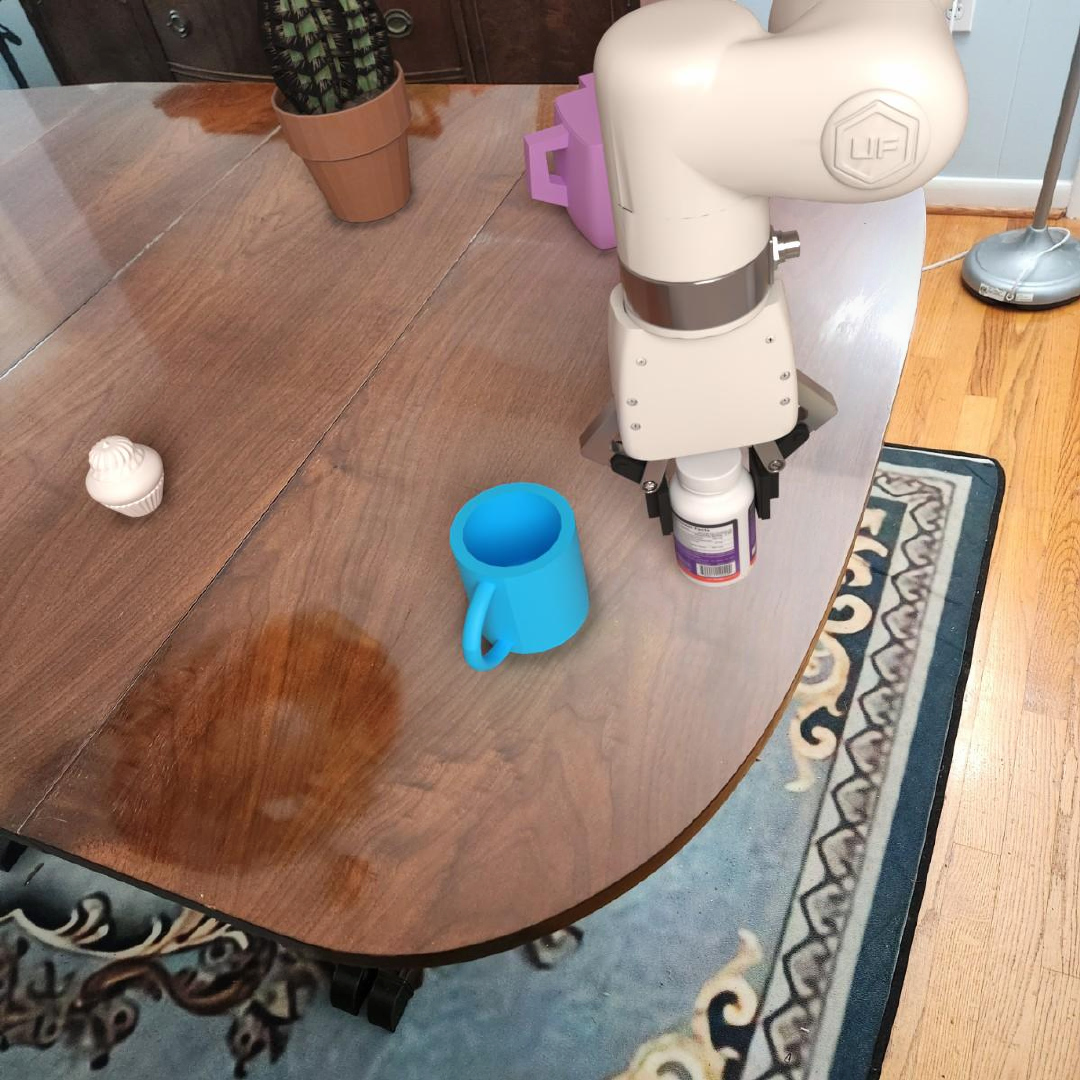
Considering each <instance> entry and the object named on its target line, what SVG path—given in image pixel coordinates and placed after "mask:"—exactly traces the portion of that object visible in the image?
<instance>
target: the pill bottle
mask: <svg viewBox="0 0 1080 1080" xmlns="http://www.w3.org/2000/svg"><path fill="white" fill-rule="evenodd" d="M674 462H675V472H674V473H673V474H672V476H671V478H670V479H669V483H668V489H669V495H670V504H671V512H672V521H673V529H674V532H672V537H673V545H674V555H675V560H676V564H677V567H678V569H679V570H680V572H681V573H682V575H683V576H684V577H685V578H686V579H688V580H689V581H691V582H692V583H694V584H696V585H699V586H703V587H708V588H725V587H728V586H731V585H734V584H736V583H738V582H740V581H741V580H743V579H745V578H746V577H747V576H748V575H749V574H750V573H751V571H752V569H753V568H754V566H755V564H756V562H757V555H758V554H757V552H758V550H757V549H758V545H757V544H758V543H757V522H756V521H757V517H756V515H757V514H756V508H755V489H754V482H753V479H752V476H751V474H750V473H749V469H747V468H746V466H744V465H743V457H742V450H741V447H738V448H732V449H726V450H720V451H714V452H708V453H702V454H696V455H689V456H683V457H676V458H674Z"/></svg>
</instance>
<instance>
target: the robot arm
mask: <svg viewBox="0 0 1080 1080" xmlns="http://www.w3.org/2000/svg"><path fill="white" fill-rule="evenodd" d="M955 1H956V0H772V3H771V7H770V10H769V15H768V23H767V30H766V29H765V27H764V26H763V25H762V23H761V21H760V19H759V18H758V17H757V15H756V14H755V13H754V12H753V11H752V10H751V9H749V7H747V6H745V5H743V4H742V3H739V2H738V1H735V0H660V1H656V2H652V3H650V4H646V5H644V6H641V7H639V8H637V9H635V10H633V11H630V12H628V13H626V14H625V15H623V16H621V17H620V18H619V19H618V20H616V21H615V22H614V23H613V24H612V25H611V26H610V27H609V28H608V29H607V30H606V31H605V33H603V35H602V37H601V39H600V41H599V42H598V45H597V47H596V50H595V54H594V58H593V69H592V73H594V85H595V94H596V101H597V108H598V115H599V122H600V130H601V137H602V144H603V151H604V158H605V166H606V173H607V180H608V187H609V193H610V201H611V208H612V216H613V224H614V231H615V239H616V246H617V247H616V253H617V259H618V268H619V275H620V282H618V283H617V284H615V286H614V287H613V289H612V290H611V292H610V295H609V301H608V311H607V350H608V351H607V352H608V363H609V373H610V383H611V393H612V396H611V398H609V400H608V401H607V402H606V403H605V405H604V406H603V407H602V409H601V410H600V411H599V412H598V413H597V415H596V416H595V417H594V418H593V420H592V421H591V422H590V423H589V425H588V426H586V428H585V429H584V430H583V431H582V433H580V435H579V437H578V440H579V441H578V442H579V450H580V451H579V452H580V456H581V457H582V458H584V459H587V460H589V461H591V462H594V463H596V464H598V465H601V466H604V467H605V466H607V467H610V469H611V471H612V472H613V473H615V474H617V475H619V476H621V477H623V478H625V479H627V480H629V481H631V482H634V483H636V484H637V485H639V490H640V491H641V492H642V493H644V496H645V503H646V510H647V515H648V519H655V518H659V522H660V527H661V532H662V533H661V534H662V536H663V537H664V536H671V535H672V533H673V532H674V529H673V521H672V512H671V504H670V495H669V489H668V486H669V483H668V479H667V474H666V468H667V466H668V463H669V460H671V459H675V458H676V457H683V456H689V455H696V454H702V453H708V452H714V451H720V450H726V449H732V448H738V447H739V448H742V447H743V448H744V447H748V446H749V447H748V471H749V473H750V474H751V476H752V479H753V482H754V489H755V513H756V515H757V519H761V520H762V521H766V520H770V519H771V500H773V499H774V500H775V499H779V498H780V472H782V471H783V470H784V469H785V467H786V466H787V462H786V460H787V459H788V457H790V456H791V455H792V454H794V453H795V452H796V451H797V450H798V449H799V448H801V446H802V445H804V444H805V443H806V442H807V441H808V440H809V439H810V435H811V433H813V431H814V432H816V431H818V430H819V429H820V428H821V427H822V426H824V425H825V424H826V423H828V422H829V421H830V420H831V419H833V418H834V417H835V416H836V415H837V414H838V412H839V408H838V406H837V403H836V401H835V398H834V396H833V393H831V392H830V391H828V390H827V389H826V388H824V387H823V386H822V385H820V384H819V383H817V382H816V381H815V380H813V379H812V378H811V377H809V376H808V375H806V374H805V373H804V372H802V371H801V370H799V369H798V368H797V362H796V361H797V360H796V353H795V352H796V351H795V342H794V341H795V340H794V333H793V328H792V321H791V314H790V308H789V303H788V299H787V297H788V296H787V293H786V287H785V284H784V280H783V277H782V273H781V270H780V268H779V264H783V263H785V262H786V260H790V259H796V258H800V257H801V240H800V235H799V232H798V231H797V230H796V229H794V230H789V231H788V230H787V231H782V230H781V229H779V230H774V229H775V228H774V227H773V224H771V198H772V197H773V198H782V199H792V200H801V201H809V202H817V203H818V202H819V203H820V202H821V203H828V204H830V203H831V204H842V205H843V204H845V205H847V204H849V205H850V204H851V205H852V204H853V205H855V204H858V205H859V204H862V205H864V204H870V203H879V202H885V201H889V200H893V199H896V198H897V199H898V198H901V197H903V196H905V195H908V194H910V193H913V192H914V191H917V190H918V189H920V188H922V187H923V186H925V185H926V184H928V183H929V182H930V181H932V180H933V179H934V178H935V177H937V175H939V174H940V173H941V172H942V171H943V170H944V169H945V168H946V166H948V164H949V163H950V162H951V160H952V159H953V158H954V156H955V154H956V152H957V151H958V149H959V147H960V145H961V143H962V141H963V137H964V135H965V132H966V129H967V126H968V125H967V124H968V120H969V119H968V118H969V113H970V112H969V110H970V98H969V95H970V94H969V86H968V81H967V76H966V72H965V69H964V66H963V63H962V60H961V57H960V55H959V52H958V49H957V46H956V44H955V40H954V38H953V35H952V32H951V29H950V25H949V23H948V21H947V17H946V14H945V12H946V11H947V10H948V9H949V8H950V7H951V6H952V4H954V2H955ZM618 435H619V436H620V440H615V438H616V437H617V436H618Z"/></svg>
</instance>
